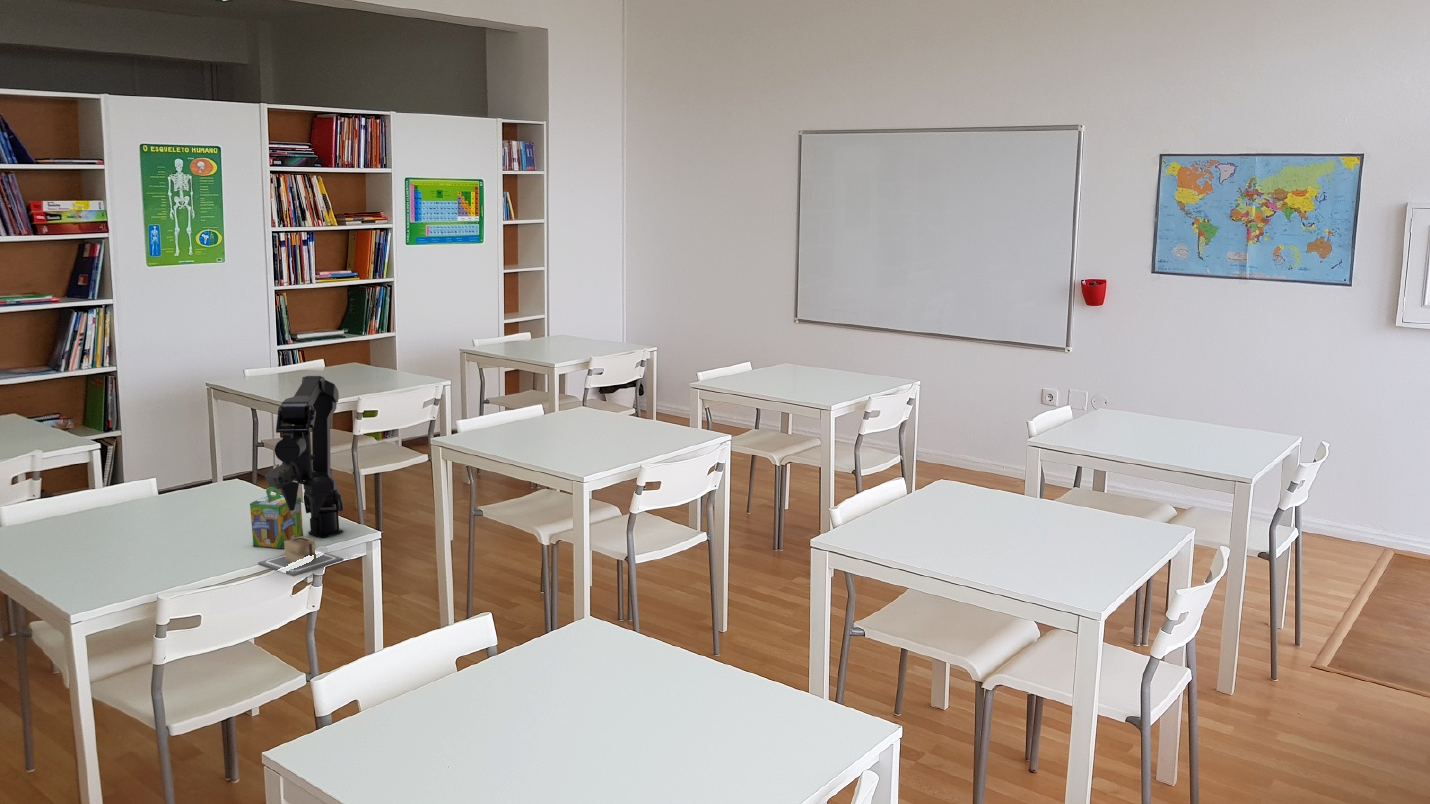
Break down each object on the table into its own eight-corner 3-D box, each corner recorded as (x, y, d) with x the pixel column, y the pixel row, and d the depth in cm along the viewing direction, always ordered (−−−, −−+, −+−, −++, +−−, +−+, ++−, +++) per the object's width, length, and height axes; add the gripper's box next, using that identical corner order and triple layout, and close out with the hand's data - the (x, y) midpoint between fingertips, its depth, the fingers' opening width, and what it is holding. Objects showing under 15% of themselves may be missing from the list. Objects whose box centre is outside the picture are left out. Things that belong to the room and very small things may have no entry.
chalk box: (283, 549, 280) (279, 493, 277) (251, 546, 282) (247, 490, 280) (305, 538, 289) (301, 484, 286) (274, 535, 291) (270, 481, 288)
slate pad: (308, 549, 280) (308, 547, 280) (343, 560, 272) (343, 557, 272) (258, 564, 269) (258, 561, 269) (293, 576, 261) (293, 573, 261)
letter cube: (303, 555, 274) (301, 535, 273) (316, 559, 271) (314, 539, 270) (285, 560, 270) (284, 540, 269) (298, 565, 267) (297, 544, 266)
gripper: (246, 452, 266) (251, 514, 270) (292, 465, 256) (297, 529, 259) (287, 443, 275) (291, 504, 278) (334, 455, 265) (337, 517, 268)
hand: (303, 513), depth 271 cm, fingers open, 9 cm apart
